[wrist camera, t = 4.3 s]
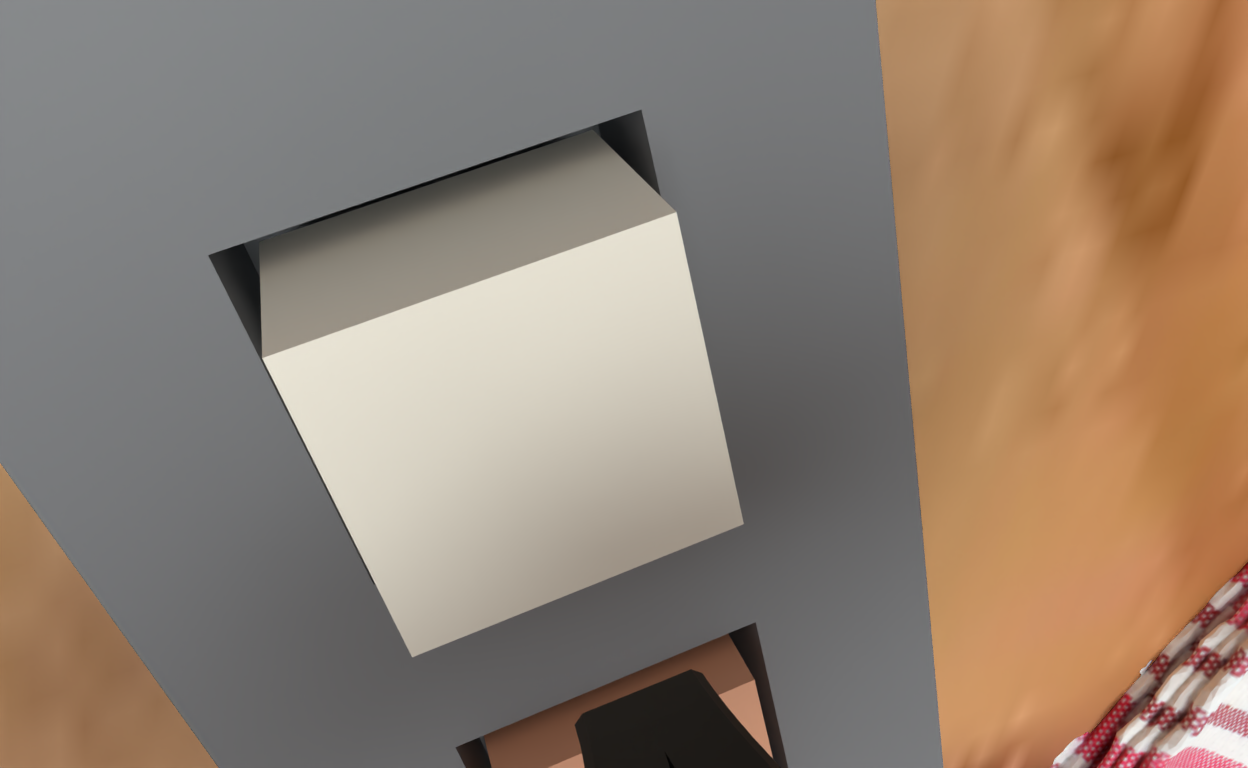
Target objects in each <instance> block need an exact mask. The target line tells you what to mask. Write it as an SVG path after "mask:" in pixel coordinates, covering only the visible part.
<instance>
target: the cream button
mask: <svg viewBox="0 0 1248 768" xmlns="http://www.w3.org/2000/svg"><path fill="white" fill-rule="evenodd" d="M259 258H260V294H261V331H262V359H263V361H264V363H265V365H266V367H267V369H268V371H269V373H270V375H271V377H272V379H273V381H274V383H275V385H276V387H277V389H278V391H279V393H280V395H281V397H282V399H283V401H284V403H285V405H286V407H287V409H288V411H289V413H290V415H291V417H292V419H293V421H294V423H295V425H296V427H297V429H298V431H299V433H300V435H301V437H302V439H303V441H304V443H305V445H306V446H307V448H308V450H309V452H310V454H311V456H312V458H313V460H314V462H315V464H316V466H317V468H318V470H319V472H320V474H321V476H322V478H323V480H324V482H325V484H326V486H327V488H328V490H329V492H330V494H331V496H332V498H333V500H334V502H335V504H336V506H337V508H338V510H339V512H340V514H341V516H342V518H343V520H344V522H345V524H346V526H347V528H348V530H349V532H350V534H351V536H352V538H353V540H354V542H355V544H356V546H357V548H358V550H359V552H360V554H361V556H362V558H363V560H364V562H365V564H366V566H367V568H368V570H369V572H370V574H371V576H372V578H373V580H374V582H375V584H376V586H377V588H378V590H379V592H380V594H381V596H382V598H383V600H384V602H385V604H386V606H387V608H388V610H389V612H390V614H391V616H392V618H393V620H394V622H395V624H396V626H397V628H398V630H399V632H400V634H401V636H402V638H403V640H404V642H405V644H406V646H407V648H408V650H409V652H410V654H411V656H412V657H414V656H417V655H419V654H422V653H424V652H427V651H429V650H432V649H434V648H437V647H439V646H442V645H444V644H447V643H449V642H452V641H454V640H457V639H459V638H462V637H464V636H467V635H469V634H472V633H474V632H477V631H479V630H482V629H484V628H487V627H489V626H492V625H494V624H497V623H499V622H502V621H504V620H507V619H509V618H512V617H514V616H517V615H519V614H521V613H524V612H526V611H529V610H531V609H534V608H536V607H539V606H541V605H544V604H546V603H549V602H551V601H554V600H556V599H559V598H561V597H564V596H566V595H569V594H571V593H574V592H576V591H579V590H581V589H584V588H586V587H589V586H591V585H594V584H596V583H599V582H601V581H604V580H606V579H609V578H611V577H614V576H616V575H619V574H621V573H624V572H626V571H628V570H631V569H633V568H636V567H638V566H641V565H643V564H646V563H648V562H651V561H653V560H656V559H658V558H661V557H663V556H666V555H668V554H671V553H673V552H676V551H678V550H681V549H683V548H686V547H688V546H691V545H693V544H696V543H698V542H701V541H703V540H706V539H708V538H711V537H713V536H716V535H718V534H721V533H723V532H726V531H728V530H731V529H733V528H735V527H738V526H740V525H743V524H744V522H743V518H742V513H741V509H740V504H739V499H738V495H737V490H736V485H735V481H734V476H733V471H732V467H731V462H730V458H729V453H728V448H727V444H726V439H725V434H724V430H723V425H722V421H721V416H720V411H719V407H718V402H717V397H716V393H715V388H714V383H713V379H712V374H711V370H710V365H709V360H708V356H707V351H706V346H705V342H704V337H703V332H702V328H701V323H700V319H699V314H698V309H697V305H696V300H695V295H694V291H693V286H692V281H691V277H690V272H689V268H688V263H687V258H686V254H685V249H684V244H683V240H682V235H681V230H680V226H679V221H678V217H677V212H676V211H675V210H674V209H673V208H672V207H671V206H670V205H669V204H668V203H667V202H666V201H665V200H664V199H663V198H662V197H661V196H660V195H659V194H658V193H657V192H656V191H655V190H654V189H653V188H651V187H650V186H649V185H648V184H647V183H646V182H645V181H644V180H643V179H642V178H641V177H640V176H639V175H638V174H637V173H636V172H635V171H634V170H633V169H632V168H631V167H630V166H629V165H628V164H627V163H626V162H625V161H624V160H623V159H622V158H621V157H620V156H619V155H618V154H617V153H616V152H615V151H614V150H613V149H612V148H611V147H610V146H609V145H608V144H607V143H606V142H605V141H604V140H603V139H602V138H601V137H600V136H599V135H598V134H597V133H596V132H594V131H593V130H590V131H588V132H585V133H582V134H579V135H576V136H573V137H570V138H567V139H564V140H561V141H558V142H555V143H552V144H549V145H546V146H543V147H540V148H537V149H534V150H531V151H528V152H525V153H522V154H519V155H516V156H513V157H510V158H507V159H504V160H501V161H498V162H495V163H492V164H489V165H486V166H484V167H481V168H478V169H475V170H472V171H469V172H466V173H463V174H460V175H457V176H454V177H451V178H448V179H445V180H442V181H439V182H436V183H433V184H430V185H427V186H424V187H421V188H418V189H415V190H412V191H409V192H406V193H403V194H400V195H397V196H394V197H391V198H388V199H385V200H382V201H380V202H377V203H374V204H371V205H368V206H365V207H362V208H359V209H356V210H353V211H350V212H347V213H344V214H341V215H338V216H335V217H332V218H329V219H326V220H323V221H320V222H317V223H314V224H311V225H308V226H305V227H302V228H299V229H296V230H293V231H290V232H287V233H284V234H281V235H278V236H275V237H273V238H270V239H267V240H264V241H261V242H259Z"/></svg>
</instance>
